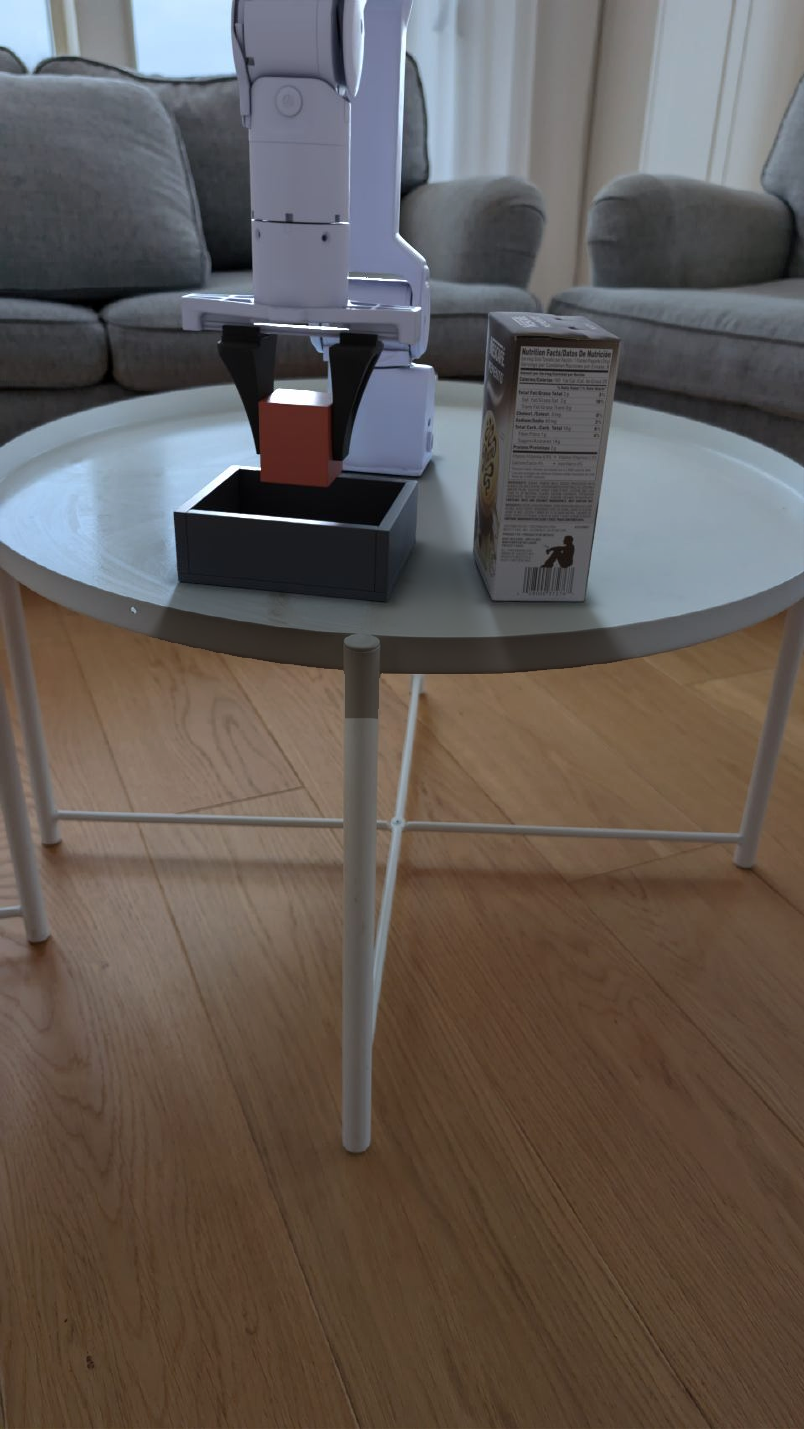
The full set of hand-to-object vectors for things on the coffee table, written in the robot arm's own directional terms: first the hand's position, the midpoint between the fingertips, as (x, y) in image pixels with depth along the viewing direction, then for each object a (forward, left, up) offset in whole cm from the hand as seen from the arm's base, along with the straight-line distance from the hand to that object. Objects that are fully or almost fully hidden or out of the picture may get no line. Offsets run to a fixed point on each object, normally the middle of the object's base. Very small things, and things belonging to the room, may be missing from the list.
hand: (302, 454), depth 66 cm
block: (0, 0, -1) cm, 1 cm away
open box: (0, 0, -7) cm, 7 cm away
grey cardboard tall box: (-15, -1, -8) cm, 17 cm away
